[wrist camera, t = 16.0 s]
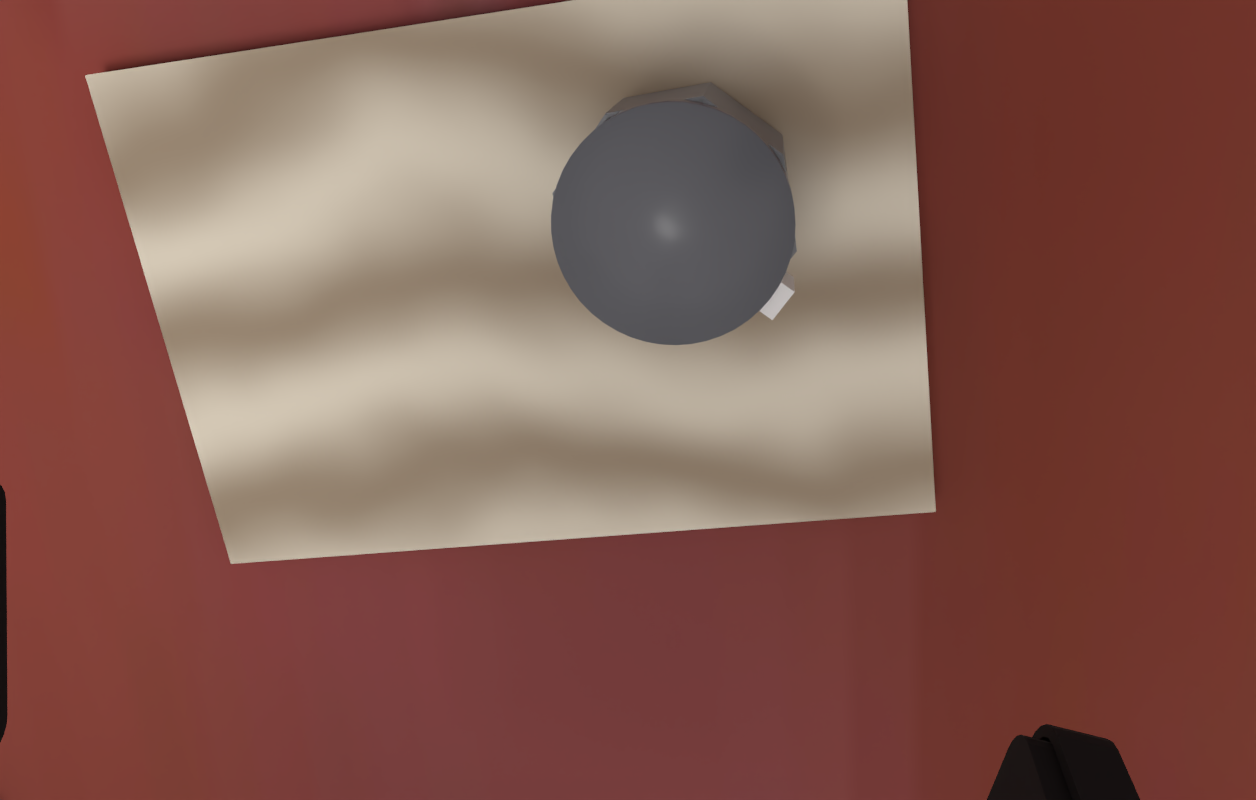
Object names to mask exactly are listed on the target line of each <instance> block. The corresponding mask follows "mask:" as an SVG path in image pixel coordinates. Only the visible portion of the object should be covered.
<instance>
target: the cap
mask: <svg viewBox="0 0 1256 800" xmlns="http://www.w3.org/2000/svg"><path fill="white" fill-rule="evenodd" d="M552 194H553V203H552V211H551V234H552V241H553V248H554V251H555V255H556V259H557V262H558V265H559V267H560V269H561V272H562V274H563V276H564V278H565V280H566V282H567V283H568V285H569V287H570V289H571V290H572V292H573V293H574V294H575V295H576V297H577V298H578V299H579V301H580V302H581V303H582V304H583V305H584V306H585V307H586V308H587V309H588V310H589V311H590V312H591V313H592V314H593V315H594V316H596V317H597V318H598V319H599V320H601V321H602V322H603V323H605V324H606V325H608V326H610V327H611V328H613V329H614V330H616V331H618V332H620V333H623V334H625V335H627V336H629V337H632V338H635V339H638V340H641V341H645V342H650V343H655V344H662V345H686V344H694V343H699V342H704V341H708V340H711V339H714V338H717V337H720V336H722V335H724V334H726V333H728V332H730V331H732V330H735V329H736V328H738V327H739V326H741V325H742V324H744V323H745V322H747V321H748V320H749V319H751V318H752V317H753V316H754V315H755V314H756V313H758V312H759V311H760V312H761V313H763V314H764V315H766V316H767V317H768V318H770V319H771V320H773V319H774V318H775V316H776V315H777V314H778V313H779V311H780V310H781V309H782V307H783V306H784V305H785V304H786V302H787V301H788V300H789V299H790V297H791V296H792V295H793V294H794V292H795V289H794V277H793V276H791V275H790V274H788V273H787V272H786V271H787V268H788V265H789V262H790V259H791V258H792V257H793V255H794V254H795V253H796V252H797V248H796V236H795V226H796V224H795V209H794V201H793V196H792V191H791V187H790V184H789V179H788V172H787V165H786V157H785V150H784V142H783V135H782V134H781V133H779V132H778V131H777V130H775V129H774V128H773V127H771V126H770V125H768V124H767V123H766V122H764V121H763V120H762V119H760V118H759V117H758V116H756V115H755V114H753V113H752V112H751V111H749V110H748V109H747V108H745V107H744V106H743V105H741V104H740V103H738V102H737V101H736V100H734V99H733V98H732V97H730V96H729V95H728V94H726V93H725V92H723V91H722V90H721V89H719V88H718V87H717V86H715V85H714V84H713V83H711V82H709V83H704V84H698V85H692V86H687V87H681V88H676V89H670V90H665V91H659V92H654V93H648V94H643V95H637V96H632V97H626V98H623V99H622V100H621V101H619V102H618V103H617V104H616V105H615V106H613V107H612V108H611V109H610V110H609V111H607V112H606V113H605V115H604V116H603V118H602V119H601V121H600V122H599V124H598V125H597V127H596V128H595V130H594V131H592V132H591V133H590V134H589V135H588V136H587V137H586V138H585V139H584V140H583V141H582V142H581V143H580V145H579V146H578V147H577V149H576V150H575V151H574V152H573V154H572V155H571V156H570V158H569V160H568V162H567V163H566V165H565V167H564V169H563V171H562V173H561V176H560V178H559V181H558V183H557V186H556V189H555V190H554V192H553V193H552Z"/></svg>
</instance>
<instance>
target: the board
mask: <svg viewBox="0 0 1256 800" xmlns="http://www.w3.org/2000/svg"><path fill="white" fill-rule="evenodd" d="M85 77H86V80H87V83H88V87H89V90H90V93H91V97H92V100H93V103H94V107H95V110H96V113H97V117H98V120H99V123H100V127H101V130H102V133H103V137H104V140H105V144H106V147H107V150H108V154H109V157H110V160H111V164H112V167H113V170H114V174H115V177H116V180H117V184H118V187H119V190H120V194H121V197H122V200H123V204H124V207H125V211H126V214H127V217H128V221H129V224H130V227H131V231H132V234H133V237H134V241H135V244H136V247H137V251H138V254H139V257H140V261H141V264H142V267H143V271H144V274H145V278H146V281H147V284H148V288H149V291H150V294H151V298H152V301H153V304H154V308H155V311H156V314H157V318H158V321H159V324H160V328H161V331H162V334H163V338H164V341H165V344H166V348H167V351H168V355H169V358H170V361H171V365H172V368H173V371H174V375H175V378H176V381H177V385H178V388H179V391H180V395H181V398H182V401H183V405H184V408H185V411H186V415H187V418H188V422H189V425H190V428H191V432H192V435H193V438H194V442H195V445H196V448H197V452H198V455H199V458H200V462H201V465H202V468H203V472H204V475H205V478H206V482H207V485H208V489H209V492H210V495H211V499H212V502H213V505H214V509H215V512H216V515H217V519H218V522H219V525H220V529H221V532H222V535H223V539H224V542H225V545H226V549H227V552H228V556H229V559H230V562H231V564H235V563H249V562H262V561H276V560H289V559H303V558H317V557H330V556H344V555H357V554H371V553H384V552H398V551H411V550H425V549H439V548H452V547H466V546H479V545H493V544H506V543H520V542H533V541H547V540H561V539H574V538H588V537H601V536H615V535H628V534H642V533H655V532H669V531H683V530H696V529H710V528H723V527H737V526H750V525H764V524H777V523H791V522H805V521H818V520H832V519H845V518H859V517H872V516H886V515H899V514H913V513H927V512H936V507H935V489H934V471H933V453H932V435H931V417H930V399H929V381H928V363H927V345H926V327H925V309H924V291H923V273H922V255H921V237H920V219H919V201H918V183H917V165H916V147H915V129H914V112H913V94H912V76H911V58H910V40H909V22H908V4H907V0H572V1H565V2H559V3H552V4H546V5H539V6H533V7H526V8H520V9H513V10H507V11H500V12H494V13H487V14H481V15H474V16H468V17H461V18H455V19H448V20H442V21H435V22H429V23H422V24H416V25H409V26H403V27H396V28H390V29H383V30H377V31H370V32H364V33H357V34H351V35H344V36H338V37H331V38H325V39H318V40H311V41H305V42H298V43H292V44H285V45H279V46H272V47H266V48H259V49H253V50H246V51H240V52H233V53H227V54H220V55H214V56H207V57H201V58H194V59H188V60H181V61H175V62H168V63H162V64H155V65H149V66H142V67H136V68H129V69H123V70H116V71H110V72H103V73H97V74H90V75H85ZM709 82H711V83H713V84H714V85H715V86H717V87H718V88H719V89H721V90H722V91H723V92H725V93H726V94H728V95H729V96H730V97H732V98H733V99H734V100H736V101H737V102H738V103H740V104H741V105H743V106H744V107H745V108H747V109H748V110H749V111H751V112H752V113H753V114H755V115H756V116H758V117H759V118H760V119H762V120H763V121H764V122H766V123H767V124H768V125H770V126H771V127H773V128H774V129H775V130H777V131H778V132H779V133H781V134H782V135H783V142H784V150H785V157H786V165H787V172H788V179H789V184H790V187H791V191H792V196H793V201H794V209H795V224H796V226H795V236H796V248H797V252H796V253H795V254H794V255H793V257H792V258H791V259H790V262H789V265H788V268H787V271H786V272H787V273H788V274H790V275H791V276H793V277H794V289H795V292H794V294H793V295H792V296H791V297H790V299H789V300H788V301H787V302H786V304H785V305H784V306H783V307H782V309H781V310H780V311H779V313H778V314H777V315H776V316H775V318H774V319H773V320H771V319H770V318H768V317H767V316H766V315H764V314H763V313H761V312H760V311H759V312H758V313H756V314H755V315H754V316H753V317H752V318H751V319H749V320H748V321H747V322H745V323H744V324H742V325H741V326H739V327H738V328H736V329H735V330H732V331H730V332H728V333H726V334H724V335H722V336H720V337H717V338H714V339H711V340H708V341H704V342H699V343H694V344H686V345H662V344H655V343H650V342H645V341H641V340H638V339H635V338H632V337H629V336H627V335H625V334H623V333H620V332H618V331H616V330H614V329H613V328H611V327H610V326H608V325H606V324H605V323H603V322H602V321H601V320H599V319H598V318H597V317H596V316H594V315H593V314H592V313H591V312H590V311H589V310H588V309H587V308H586V307H585V306H584V305H583V304H582V303H581V302H580V301H579V299H578V298H577V297H576V295H575V294H574V293H573V292H572V290H571V289H570V287H569V285H568V283H567V282H566V280H565V278H564V276H563V274H562V272H561V269H560V267H559V265H558V262H557V259H556V255H555V251H554V248H553V241H552V234H551V211H552V203H553V194H552V193H553V192H554V190H555V189H556V186H557V183H558V181H559V178H560V176H561V173H562V171H563V169H564V167H565V165H566V163H567V162H568V160H569V158H570V156H571V155H572V154H573V152H574V151H575V150H576V149H577V147H578V146H579V145H580V143H581V142H582V141H583V140H584V139H585V138H586V137H587V136H588V135H589V134H590V133H591V132H592V131H594V130H595V128H596V127H597V125H598V124H599V122H600V121H601V119H602V118H603V116H604V115H605V113H606V112H607V111H609V110H610V109H611V108H612V107H613V106H615V105H616V104H617V103H618V102H619V101H621V100H622V99H623V98H626V97H632V96H637V95H643V94H648V93H654V92H659V91H665V90H670V89H676V88H681V87H687V86H692V85H698V84H704V83H709Z"/></svg>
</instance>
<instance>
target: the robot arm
mask: <svg viewBox="0 0 1256 800" xmlns="http://www.w3.org/2000/svg"><path fill="white" fill-rule="evenodd" d="M6 724H7V597H6V498H5V492H4V490H3V488H2V486H1V485H0V742H1V739H2V737H3V735H4V731H5V728H6ZM987 800H1140V798H1139V796H1138V794H1137V792H1136V789H1135V787H1134V785H1133V783H1132V780H1131V778H1130V776H1129V774H1128V771H1127V769H1126V767H1125V765H1124V762H1123V760H1122V758H1121V756H1120V753H1119V751H1118V749H1117V748H1116V746H1115V745H1114V743H1113V742H1112V741H1110V740H1108V739H1105V738H1101V737H1097V736H1093V735H1089V734H1085V733H1081V732H1077V731H1073V730H1068V729H1064V728H1060V727H1056V726H1052V725H1048V724H1046V725H1043V726H1040V727H1039V729H1038V730H1037V731H1036V732H1035V733H1034V735H1033V737H1028V736H1023V735H1019V736H1016V737H1015V738H1014V740H1013V741H1012V742H1011V744H1010V746H1009V748H1008V750H1007V753H1006V755H1005V758H1004V760H1003V762H1002V765H1001V767H1000V770H999V772H998V774H997V777H996V779H995V782H994V784H993V786H992V789H991V791H990V794H989V796H988V798H987Z"/></svg>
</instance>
